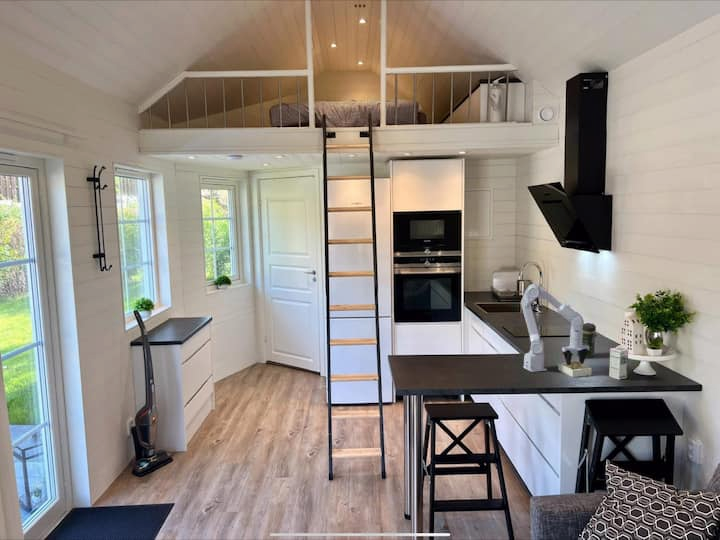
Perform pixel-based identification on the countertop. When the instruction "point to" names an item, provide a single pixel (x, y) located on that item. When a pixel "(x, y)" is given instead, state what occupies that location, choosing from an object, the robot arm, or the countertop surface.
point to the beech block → (575, 365)
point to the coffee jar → (588, 338)
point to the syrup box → (618, 363)
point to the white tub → (574, 373)
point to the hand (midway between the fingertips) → (574, 364)
